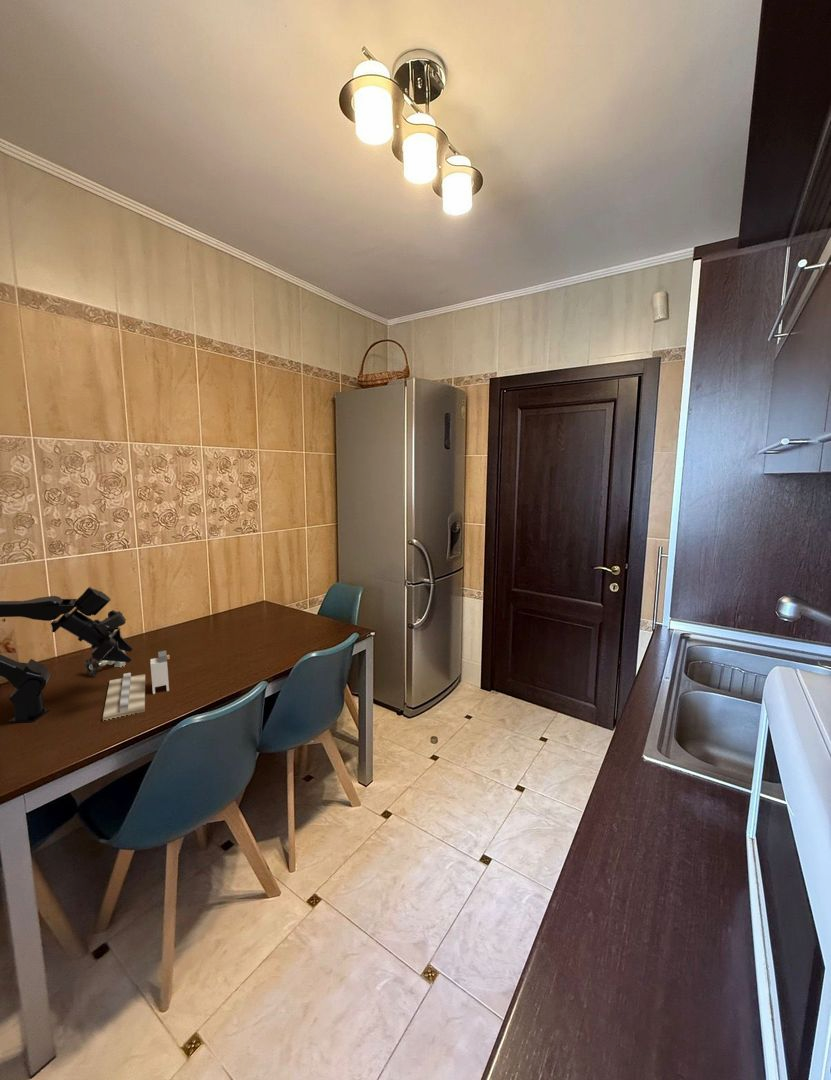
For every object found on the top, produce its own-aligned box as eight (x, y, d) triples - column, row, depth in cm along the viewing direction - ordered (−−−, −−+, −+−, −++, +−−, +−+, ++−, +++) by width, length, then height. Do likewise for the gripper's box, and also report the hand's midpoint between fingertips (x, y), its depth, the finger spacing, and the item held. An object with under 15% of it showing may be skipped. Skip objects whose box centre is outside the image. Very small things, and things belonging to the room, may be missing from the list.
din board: (144, 711, 129) (144, 702, 128) (103, 721, 124) (102, 711, 123) (145, 676, 151) (144, 668, 150) (110, 683, 146) (109, 675, 145)
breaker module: (172, 690, 142) (169, 654, 140) (152, 694, 139) (150, 658, 137) (171, 684, 145) (168, 650, 144) (152, 688, 143) (150, 653, 141)
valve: (120, 661, 162) (84, 674, 152) (119, 644, 161) (83, 656, 151) (131, 665, 159) (96, 678, 149) (130, 648, 159) (94, 660, 148)
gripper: (102, 614, 123) (151, 644, 130) (107, 598, 139) (150, 625, 146) (70, 646, 120) (121, 675, 128) (79, 626, 136) (124, 653, 143)
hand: (131, 655), depth 136 cm, fingers open, 9 cm apart
